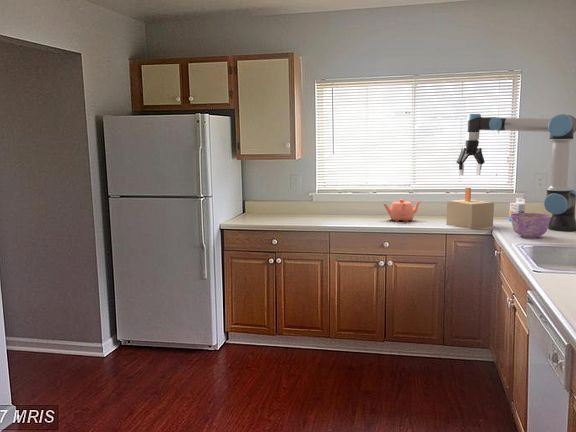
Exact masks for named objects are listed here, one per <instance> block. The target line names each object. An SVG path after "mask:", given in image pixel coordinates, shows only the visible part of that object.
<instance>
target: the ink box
mask: <svg viewBox="0 0 576 432" xmlns="http://www.w3.org/2000/svg"><path fill="white" fill-rule="evenodd" d="M525 204H526V199H525V198H522V197H521V198H520V197H516V198H515V202H509V212H508V213H509V214H508V215H509V217H508V218H509V219H508V221H509V222H512V221H511V216H510V215H511V214H514V213H526V212H525V209H526V205H525Z"/></svg>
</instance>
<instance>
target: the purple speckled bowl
mask: <svg viewBox="0 0 576 432" xmlns="http://www.w3.org/2000/svg"><path fill="white" fill-rule="evenodd" d="M510 216H511V221H510V222H511V225H512V229H513V231H514V232H515V233H516V234H517V235H519V236H520V237H521V238H526V239H537V238H538V237H542V235H545V234H546V232H548V230H549V229H548V226H549V223H550V220H551V217H552V215H550V214H545V213H544V214H543V213H534V212H524V213H514V214H511V215H510Z"/></svg>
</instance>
